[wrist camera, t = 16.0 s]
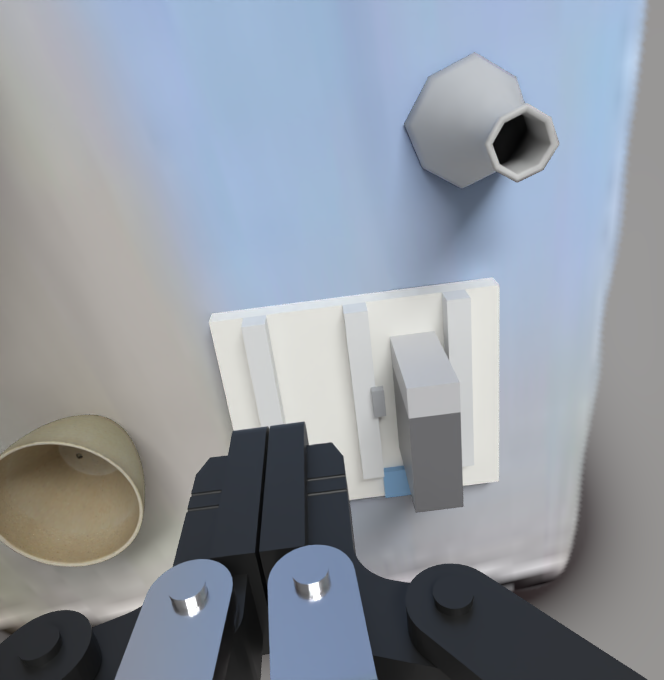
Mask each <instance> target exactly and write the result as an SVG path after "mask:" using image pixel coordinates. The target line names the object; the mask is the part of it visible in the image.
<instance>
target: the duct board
mask: <svg viewBox="0 0 664 680" xmlns="http://www.w3.org/2000/svg"><path fill="white" fill-rule="evenodd" d="M209 325H210V329H211V334H212V338H213V342H214V347H215V351H216V356H217V360H218V364H219V369H220V373H221V378H222V382H223V386H224V391H225V395H226V400H227V404H228V408H229V413H230V417H231V422H232V426H233V430H234V431H235V430H242V429H250V428H258V427H266V426H268V427H269V429H270V426H273V425H281V424H288V423H296V422H305V425H306V429H307V435H308V442H309V445H313V444H321V443H329V442H332V443H333V444H334V445H335V447H336V448H337V449H338V450H339V451H340V453H341V454H342V455H343V457H344V464H345V471H346V479H347V486H348V494H349V500H354V499H362V498H370V497H378V496H385V497H386V498H389V497H397V496H405V495H411V492H410V488H409V484H408V480H407V476H406V472H405V468H404V464H403V460H402V456H401V453H400V449H399V440H398V428H397V416H396V404H395V393H394V381H393V369H392V357H391V345H390V336H398V335H406V334H414V333H422V332H430V331H435V333H436V335H437V337H438V339H439V341H440V343H441V345H442V347H443V349H444V351H445V353H446V355H447V357H448V359H449V361H450V363H451V365H452V368H453V370H454V372H455V374H456V376H457V378H458V380H459V382H460V409H461V443H462V476H463V486H465V485H473V484H481V483H489V482H497V481H499V284H498V283H497V282H496V281H495V280H494V278H493V277H491V278H483V279H476V280H468V281H460V282H452V283H445V284H437V285H429V286H421V287H414V288H406V289H398V290H390V291H383V292H375V293H367V294H359V295H352V296H344V297H336V298H328V299H320V300H313V301H305V302H297V303H289V304H282V305H274V306H266V307H258V308H251V309H243V310H235V311H227V312H220V313H212V315H211V318H210V321H209Z"/></svg>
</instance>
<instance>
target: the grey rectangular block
mask: <svg viewBox="0 0 664 680" xmlns="http://www.w3.org/2000/svg"><path fill="white" fill-rule="evenodd" d="M390 345H391V357H392V369H393V381H394V393H395V404H396V416H397V428H398V440H399V449H400V453H401V456H402V460H403V464H404V468H405V472H406V476H407V480H408V484H409V488H410V492H411V496H412V500H413V504H414V508H415V511H416V513H417V512H425V511H433V510H441V509H449V508H457V507H463V476H462V443H461V409H460V382H459V380H458V378H457V376H456V374H455V372H454V370H453V368H452V365H451V363H450V361H449V359H448V357H447V355H446V353H445V351H444V349H443V347H442V345H441V343H440V341H439V339H438V337H437V335H436V333H435V331H430V332H422V333H414V334H406V335H398V336H390Z"/></svg>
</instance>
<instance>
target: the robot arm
mask: <svg viewBox="0 0 664 680" xmlns="http://www.w3.org/2000/svg"><path fill="white" fill-rule="evenodd" d="M191 494H192V497H190V501H189V505H188V512H187V513H186V517H185V521H184V525H183V529H182V532H181V536H180V540H179V544H178V548H177V552H176V556H175V560H174V564H173V567H172V568H170V569H169V570H168V571H166V572H165V573H163V574H162V575H161V576H160V577H159V578H158V579H157V580H156V581H155V582H154V583H153V585H152V586H151V587H150V589H149V591H148V593H147V595H146V597H145V600H144V603H143V605H142V606H141V607H139V608H138V609H136V610H134V611H132V612H130V613H128V614H125V615H123V616H120V617H118V618H115V619H113V620H110V621H108V622H105V623H103V624H100V625H98V626H95V627H93V628H92V627H91V625H90V623H89V621H88V619H87V618H86V617H85V616H84V615H82V614H81V613H79V612H76V611H70V610H61V611H55V612H50V613H47V614H45V615H42V616H40V617H37V618H35V619H33V620H32V621H30V622H28V623H27V624H25V625H24V626H22V627H21V628H20V629H18V630H17V631H16V632H14V633H13V634H12V635H11V636H9V637H8V638H7V639H6V640H4V641H3V642H2V643H1V644H0V680H260V678H261V662H262V655H265V654H270V677H271V678H270V679H271V680H647V679H646V678H644V677H643V676H641V675H640V674H638V673H636V672H635V671H633V670H632V669H630V668H629V667H627V666H625V665H624V664H623V663H621V662H619V661H618V660H616V659H615V658H613V657H612V656H610V655H609V654H607V653H605V652H604V651H602V650H601V649H599V648H598V647H596V646H595V645H593V644H592V643H590V642H588V641H587V640H585V639H584V638H582V637H581V636H579V635H578V634H576V633H574V632H573V631H571V630H570V629H568V628H567V627H565V626H564V625H562V624H561V623H559V622H558V621H556V620H554V619H553V618H551V617H550V616H548V615H547V614H545V613H544V612H542V611H540V610H539V609H537V608H536V607H534V606H533V605H531V604H530V603H528V602H527V601H525V600H524V599H522V598H520V597H519V596H517V595H516V594H514V593H513V592H511V591H510V590H508V589H506V588H505V587H503V586H502V585H500V584H499V583H497V582H496V581H494V580H493V579H491V578H489V577H488V576H486V575H485V574H483V573H482V572H480V571H478V570H476V569H474V568H471V567H469V566H465V565H460V564H441V565H436V566H433V567H430V568H428V569H426V570H424V571H422V572H421V573H419V574H418V575H417V576H416V577H415V578H414V579H413V580H412V582H411V583H406V582H400V581H394V580H389V579H385V578H382V577H379V576H377V575H375V574H373V573H371V572H370V571H369V570H367V569H366V568H365V567H364V566H363V565H362V564H361V563H360V562H359V560H358V559H357V557H356V552H355V543H354V534H353V525H352V516H351V508H350V501H349V494H348V486H347V479H346V471H345V464H344V457H343V455H342V454H341V453H340V451H339V450H338V449H337V448H336V447H335V445H334V444H333V443H332V442H329V443H321V444H313V445H309V442H308V435H307V429H306V425H305V422H296V423H288V424H281V425H273V426H270V429H269V427H268V426H266V427H258V428H250V429H242V430H235V431H233V433H232V437H231V442H230V448H229V453H228V456H220V457H212V458H210V459H209V460H208V461H207V462H206V463H205V465H204V466H203V467H202V468H201V470H200V471H199V472H198V473H197V474H196V477H195V481H194V485H193V489H192V493H191Z"/></svg>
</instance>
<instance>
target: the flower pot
mask: <svg viewBox="0 0 664 680" xmlns="http://www.w3.org/2000/svg"><path fill="white" fill-rule="evenodd" d="M79 456H82V458H80V457H79ZM144 505H145V484H144V474H143V469H142V465H141V461H140V458H139V455H138V453H137V450H136V448H135V446H134V444H133V442H132V440H131V439H130V437H129V436H128V434H127V433H126V432H125V431H124V430H123V428H122V427H121V426H119V425H118V424H117V423H115V422H114V421H112V420H110V419H108V418H105V417H102V416H98V415H79V416H72V417H68V418H64V419H60V420H57V421H54V422H51V423H49V424H46V425H44V426H42V427H40V428H38V429H36V430H34V431H32V432H30V433H29V434H27V435H25V436H24V437H22V438H21V439H19V440H18V441H17V442H15V443H14V444H12V445H11V446H10V447H9V448H7V449H6V450H5V451H4V452H3V453H2V454H0V541H1V542H3V543H4V544H5V545H6V546H8V547H9V548H10V549H12V550H13V551H15V552H17V553H19V554H21V555H23V556H25V557H27V558H29V559H32V560H35V561H38V562H41V563H45V564H49V565H55V566H64V567H78V566H87V565H93V564H97V563H100V562H103V561H106V560H108V559H110V558H113V557H114V556H116V555H118V554H119V553H121V552H122V551H123V550H124V549H126V548H127V547H128V546H129V545H130V544H131V543H132V541H133V540H134V539H135V537H136V536H137V534H138V532H139V530H140V527H141V524H142V520H143V514H144Z"/></svg>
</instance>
